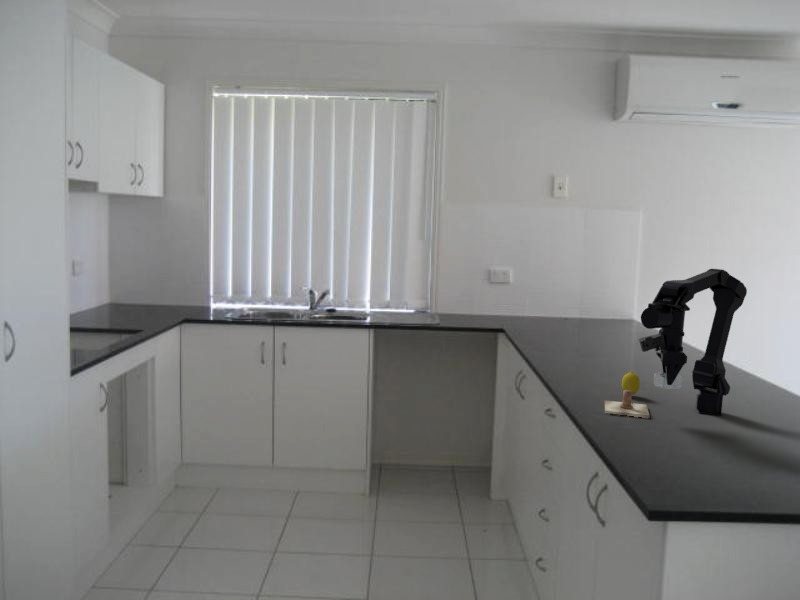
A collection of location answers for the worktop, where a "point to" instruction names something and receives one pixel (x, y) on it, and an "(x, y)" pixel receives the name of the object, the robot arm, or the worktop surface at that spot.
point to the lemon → (631, 382)
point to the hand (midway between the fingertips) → (667, 382)
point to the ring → (661, 381)
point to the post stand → (627, 407)
